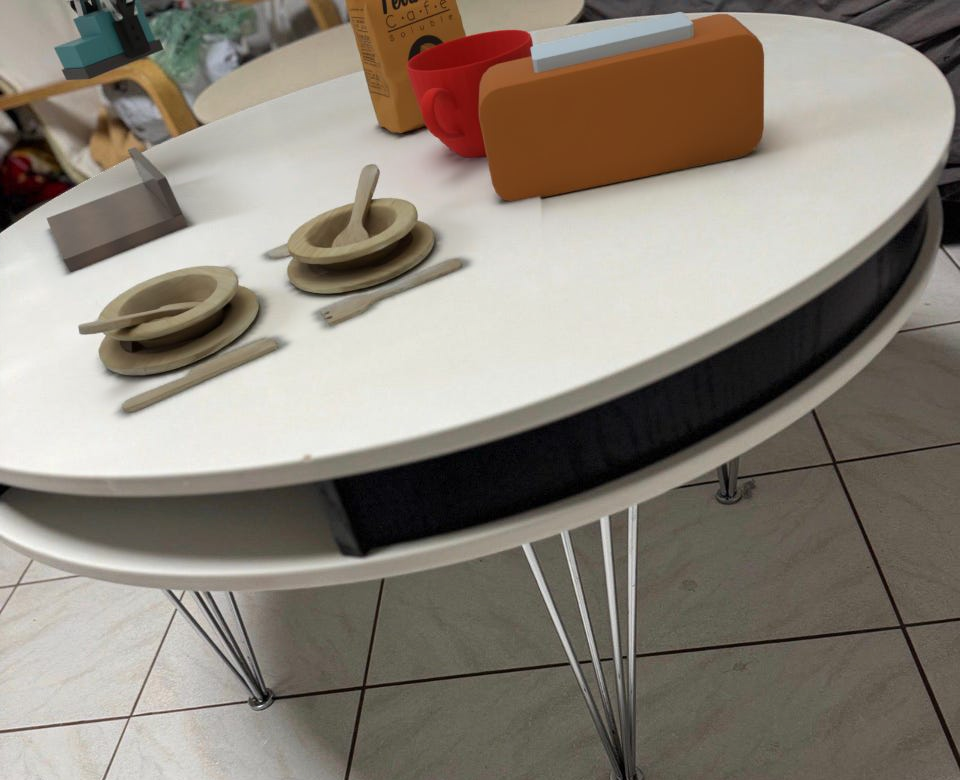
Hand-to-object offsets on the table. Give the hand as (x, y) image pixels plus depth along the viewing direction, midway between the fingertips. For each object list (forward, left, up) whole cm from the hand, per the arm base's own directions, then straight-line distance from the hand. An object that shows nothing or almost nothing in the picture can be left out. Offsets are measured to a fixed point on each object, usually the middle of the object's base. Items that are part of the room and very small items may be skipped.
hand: (125, 54), depth 101 cm
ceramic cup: (+43, -20, -14) cm, 49 cm away
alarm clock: (+57, -31, -14) cm, 66 cm away
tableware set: (+26, -46, -14) cm, 55 cm away
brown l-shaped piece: (0, -20, -14) cm, 25 cm away
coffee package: (+36, -3, -14) cm, 38 cm away
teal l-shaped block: (-1, -1, -1) cm, 2 cm away
